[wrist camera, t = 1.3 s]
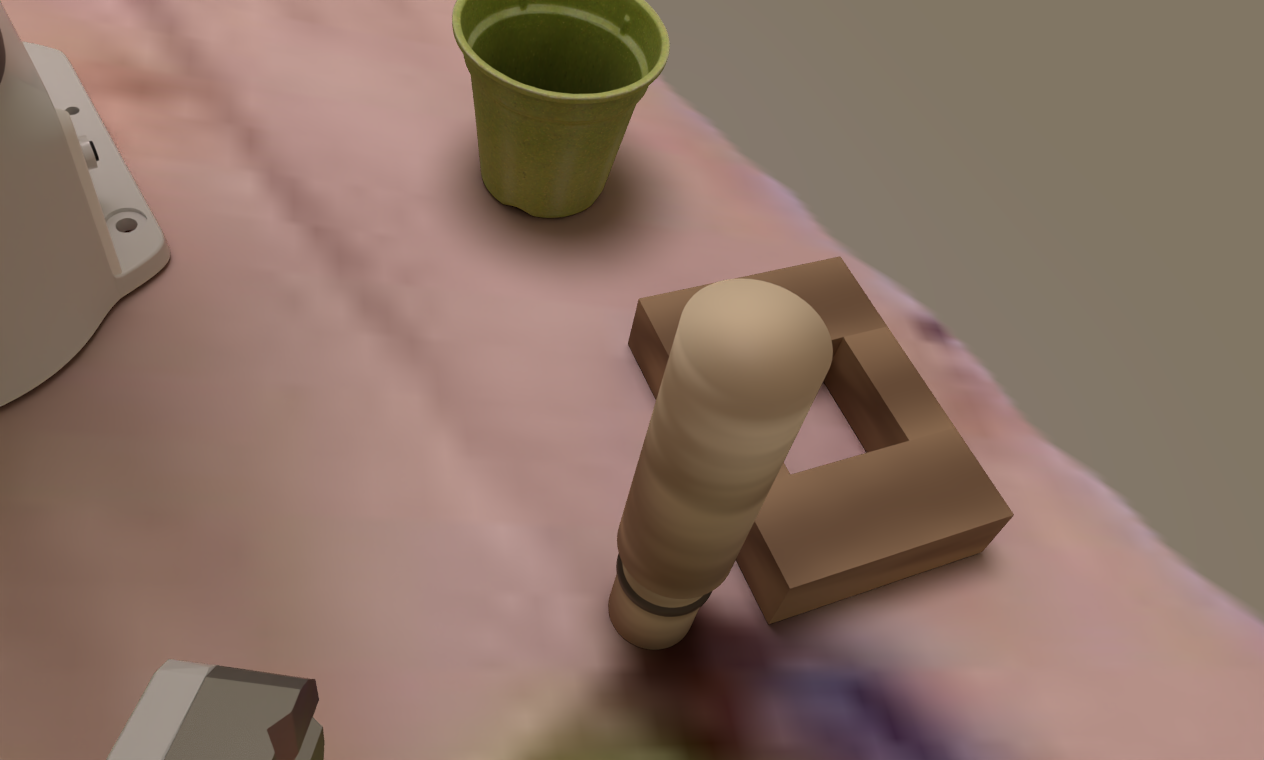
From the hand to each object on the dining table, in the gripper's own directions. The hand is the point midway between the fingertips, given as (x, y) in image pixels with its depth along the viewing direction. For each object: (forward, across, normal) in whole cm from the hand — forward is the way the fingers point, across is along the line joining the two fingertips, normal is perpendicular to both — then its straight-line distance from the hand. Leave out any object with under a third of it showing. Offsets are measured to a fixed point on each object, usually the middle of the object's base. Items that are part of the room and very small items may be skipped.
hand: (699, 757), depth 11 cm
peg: (+21, 0, +20) cm, 29 cm away
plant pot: (+42, +7, +14) cm, 45 cm away
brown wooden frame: (+29, -6, +18) cm, 35 cm away
